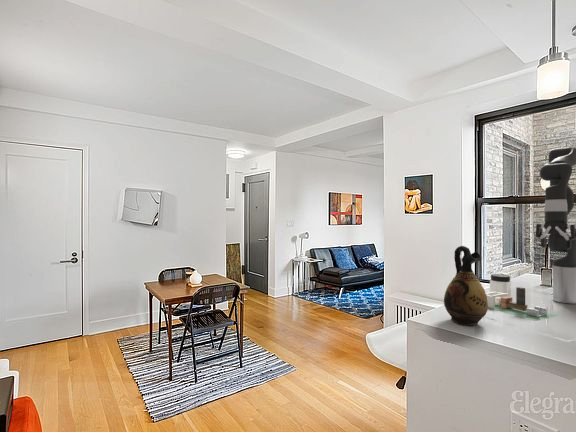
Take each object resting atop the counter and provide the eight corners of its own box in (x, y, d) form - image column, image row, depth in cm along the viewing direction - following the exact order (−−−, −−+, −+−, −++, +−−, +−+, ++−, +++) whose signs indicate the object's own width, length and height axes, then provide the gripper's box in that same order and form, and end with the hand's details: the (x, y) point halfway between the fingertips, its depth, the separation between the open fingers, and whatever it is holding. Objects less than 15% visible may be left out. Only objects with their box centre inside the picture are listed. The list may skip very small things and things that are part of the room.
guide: (536, 313, 138) (536, 306, 138) (546, 315, 135) (546, 308, 135) (526, 315, 136) (526, 308, 136) (537, 317, 132) (537, 310, 132)
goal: (495, 301, 157) (495, 290, 157) (509, 305, 151) (509, 293, 151) (479, 304, 152) (479, 292, 152) (493, 308, 146) (493, 295, 146)
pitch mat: (497, 302, 158) (497, 300, 158) (557, 316, 135) (557, 315, 135) (475, 305, 151) (475, 304, 151) (534, 321, 129) (534, 320, 129)
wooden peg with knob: (507, 306, 148) (507, 284, 148) (529, 311, 140) (529, 288, 140) (500, 307, 146) (500, 285, 146) (522, 312, 138) (522, 289, 138)
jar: (505, 302, 158) (505, 277, 158) (487, 298, 165) (487, 275, 165) (513, 299, 163) (513, 275, 163) (495, 296, 170) (495, 273, 170)
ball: (505, 297, 149) (505, 306, 149) (496, 295, 152) (497, 304, 152) (499, 298, 147) (500, 307, 147) (491, 296, 151) (491, 305, 150)
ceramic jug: (498, 327, 122) (498, 248, 122) (461, 330, 120) (461, 249, 120) (466, 314, 139) (466, 244, 139) (433, 316, 136) (433, 244, 136)
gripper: (581, 210, 133) (581, 249, 133) (542, 210, 146) (542, 246, 146) (571, 210, 130) (571, 250, 130) (532, 210, 143) (532, 247, 143)
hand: (555, 248), depth 138 cm, fingers open, 8 cm apart
